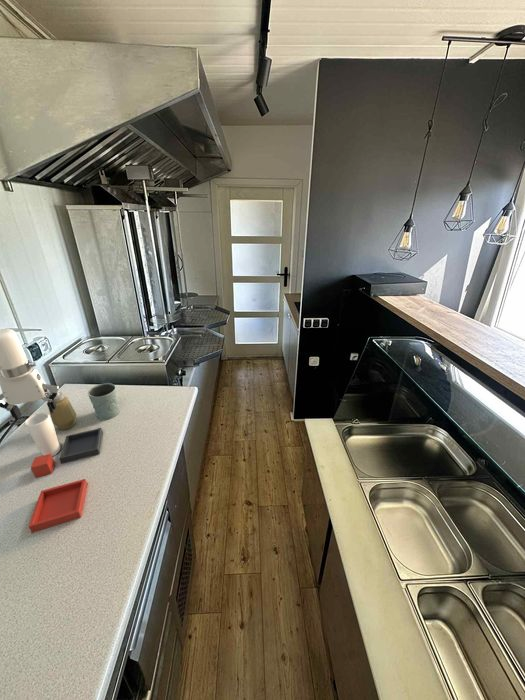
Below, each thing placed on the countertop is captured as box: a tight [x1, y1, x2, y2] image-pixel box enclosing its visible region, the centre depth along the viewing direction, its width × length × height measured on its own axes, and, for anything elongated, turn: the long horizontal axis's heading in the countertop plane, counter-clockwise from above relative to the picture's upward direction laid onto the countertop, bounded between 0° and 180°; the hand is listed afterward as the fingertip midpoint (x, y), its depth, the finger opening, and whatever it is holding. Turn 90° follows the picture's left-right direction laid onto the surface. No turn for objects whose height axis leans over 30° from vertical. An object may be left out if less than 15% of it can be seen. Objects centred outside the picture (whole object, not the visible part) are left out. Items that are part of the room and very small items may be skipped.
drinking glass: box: [24, 412, 62, 457], centre depth 98 cm, size 7×7×15 cm
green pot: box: [87, 382, 120, 421], centre depth 118 cm, size 10×10×12 cm
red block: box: [30, 454, 56, 479], centre depth 93 cm, size 4×4×4 cm
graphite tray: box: [58, 427, 104, 465], centre depth 103 cm, size 12×12×2 cm
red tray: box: [28, 478, 88, 534], centre depth 82 cm, size 12×12×2 cm
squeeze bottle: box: [48, 390, 77, 431], centre depth 110 cm, size 8×8×18 cm
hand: (36, 414), depth 94 cm, fingers open, 9 cm apart
